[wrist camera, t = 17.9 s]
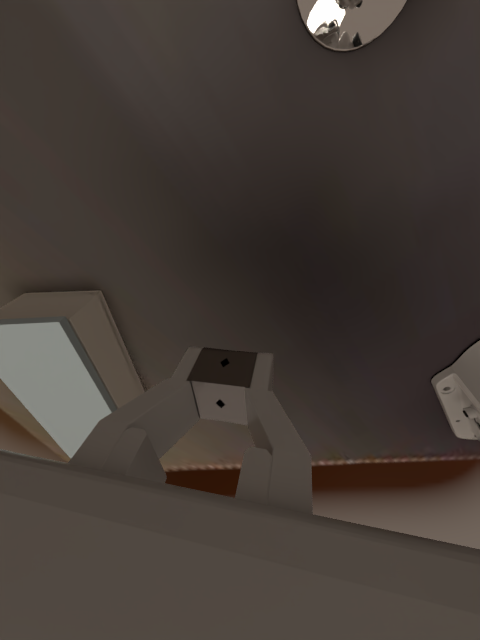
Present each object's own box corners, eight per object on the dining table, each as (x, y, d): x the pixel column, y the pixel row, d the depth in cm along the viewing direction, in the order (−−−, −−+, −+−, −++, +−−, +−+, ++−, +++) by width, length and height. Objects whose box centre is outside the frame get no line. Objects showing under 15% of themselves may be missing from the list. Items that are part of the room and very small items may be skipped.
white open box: (101, 290, 30) (69, 318, 25) (154, 414, 44) (140, 448, 39) (24, 292, 31) (-20, 320, 26) (100, 413, 45) (80, 446, 40)
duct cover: (65, 316, 25) (58, 322, 24) (141, 452, 39) (138, 458, 38) (-36, 321, 25) (-45, 326, 25) (75, 452, 39) (71, 459, 39)
